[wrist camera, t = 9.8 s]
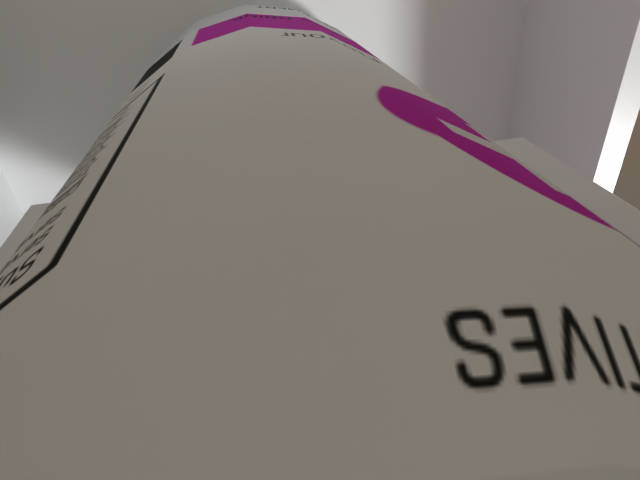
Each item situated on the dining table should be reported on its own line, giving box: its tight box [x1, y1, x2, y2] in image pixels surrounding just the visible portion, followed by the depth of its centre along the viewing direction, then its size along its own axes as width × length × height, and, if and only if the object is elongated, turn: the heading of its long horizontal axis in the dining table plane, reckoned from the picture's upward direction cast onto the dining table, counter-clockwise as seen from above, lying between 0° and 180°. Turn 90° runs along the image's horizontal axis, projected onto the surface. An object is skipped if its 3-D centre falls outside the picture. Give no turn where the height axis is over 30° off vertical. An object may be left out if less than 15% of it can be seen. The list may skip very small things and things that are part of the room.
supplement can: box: [0, 4, 640, 480], centre depth 10 cm, size 8×8×15 cm
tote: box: [0, 0, 640, 248], centre depth 12 cm, size 20×20×6 cm
